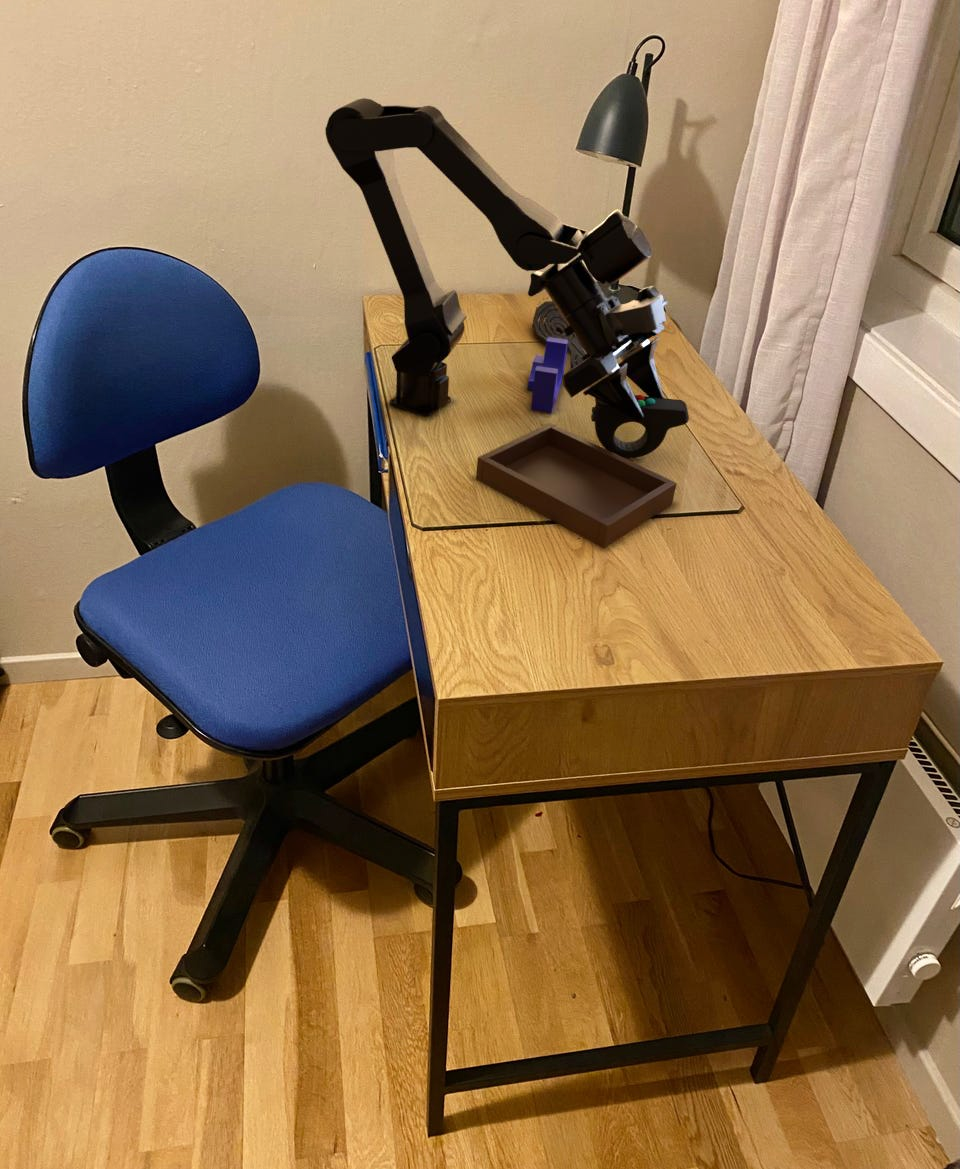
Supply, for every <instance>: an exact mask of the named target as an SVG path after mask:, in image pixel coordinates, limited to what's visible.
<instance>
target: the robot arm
mask: <svg viewBox="0 0 960 1169" xmlns="http://www.w3.org/2000/svg"><path fill="white" fill-rule="evenodd" d="M327 119H328V120H327V123H326V126H325V128H324V129H325V131H324V132H325V138H326V142H327V144H328V146H329V148H330V149H331V151H332V153H333V155H334V157H335V158H336V160H337V162H338V164H339V165H340V167H341V169H342V170H343V171H344V172H345V173H346V175H347V176H348V177H349V178H350V179H351V180H352V181H353V182H354V183H355V184H356V185H357V186H358V188H359V189H360V191H361V192H362V195H363V198H364V200H365V203H366V206H367V208H368V210H369V213H370V216H371V218H372V221H373V223H374V225H375V229H376V231H377V233H378V236H379V238H380V241H381V243H382V246H383V249H384V251H385V254H386V256H387V259H388V262H389V264H390V266H391V269H392V271H393V275H394V276H395V279H396V281H397V284H398V287H399V289H400V291H401V294H402V297H403V310H404V316H403V317H404V327H405V332H406V337H407V338H406V339H405V341H404V342H403V343H402V344H401V346H399V348H398V349H396V351H395V352H394V354H392V356H391V361H392V364H393V367H394V370H395V372H396V379H395V380H396V382H395V383H396V385H395V386H396V389H395V390H396V392H395V397H393V398H391V399H390V400H389V405H390V406H393V407H396V408H398V409H401V410H404V411H406V412H407V411H408V412H409V413H412V414H416V415H418V416H421V417H425V418H429V417H430V416H432V415H433V414H435V413H436V412H438V411H439V410H441V409H442V408H444V407H445V406H447V405H448V404H449V403H451V402H452V397H451V396H449V388H450V387H449V385H450V377H449V375H447V373H448V371H447V370H448V364H447V363H445V362H444V361H445V359H446V358H448V356H449V355H450V354H451V353H452V351H453V350H454V349H455V347H456V346H457V345H458V343H459V342H460V341H461V340H462V337H463V335H464V332H465V320H466V319H467V315H466V314H465V313H464V311H463V310H462V308H461V305H460V301H459V296H458V293H457V290H455V289H453V290H450V291H449V292H446V291H445V290H444V289H443V288H442V287H441V286H440V285H439V283H438V282H437V281H436V278H435V276H434V273H433V271H432V268H431V266H430V262H429V260H428V257H427V255H426V252H425V249H424V247H423V244H422V241H421V238H420V236H419V233H418V230H417V227H416V225H415V223H414V220H413V217H412V214H411V211H410V209H409V206H408V204H407V200H406V199H405V196H404V193H403V190H402V188H401V184H400V182H399V180H398V177H397V174H396V158H395V156H396V154H395V153H396V152H395V150H400V149H407V148H408V149H410V148H411V149H412V148H413V149H415V148H416V149H418V150H419V151H420V152H421V153H422V154H423V155H424V156H425V158H427V159H428V160H429V161H430V162H431V163H432V164H433V165H434V166H435V167H436V168H437V170H439V171H440V172H441V173H442V174H443V175H444V176H445V177H446V178H447V179H448V180H449V181H450V182H451V184H453V186H455V187H456V188H457V189H458V191H460V192H461V193H462V194H463V195H464V196H465V197H466V198H467V200H469V201H470V202H471V203H472V205H473V206H475V207H476V208H477V210H479V211H480V212H481V214H483V215H484V216H485V217H486V219H487V220H488V222H489V224H491V226H492V228H493V230H494V232H495V235H496V236H497V239H498V241H499V243H500V245H501V246H502V247H503V249H504V250H505V252H506V253H507V254H508V256H509V257H510V258H511V259H512V261H513V263H514V264H515V265H516V266H517V267H518V268H520V269H522V270H524V271H526V272H532V273H531V274H530V282H529V286H528V290H527V295H528V296H529V297H534V296H536V295H538V294H540V293H541V292H543V291H544V290H545V292H546V293H547V295H548V296H549V298H550V299H551V301H553V303H554V304H555V306H556V307H557V309H558V310H559V312H560V313H561V315H562V316H563V318H565V319H564V320H565V321H566V323H567V324H568V327H567V328H565V329H564V330H563V331H564V332H565V334H566V335H567V337H568V336H570V335H571V334H572V333H574V335H575V336H576V338H577V340H578V341H579V343H580V344H581V347H582V349H583V350H584V352H585V353H586V355H584V356H583V357H582V360H583V362H581V363H580V364H578V365H577V366H575V367H574V368H573V369H571V368H570V369H569V371H567V372H566V373H564V375H563V380H562V386H563V388H564V389H565V391H566V392H567V394H568V395H569V397H570V398H573V397H575V396H576V395H578V394H580V393H581V392H582V394H583V395H584V396H587V395H589V396H590V397H593V398H594V399H595V398H596V399H598V400H600V401H602V402H604V403H606V404H608V405H610V406H611V407H613V408H615V409H616V410H618V411H620V412H621V413H623V414H625V415H626V416H628V417H630V418H631V419H633V420H635V421H636V422H639V421H640V420H642V419H643V418H644V415H643V413H642V410H641V408H640V406H639V404H638V402H637V400H636V398H635V396H634V395H635V394H634V392H633V391H632V389H631V387H630V384H629V383H628V380H627V378H628V379H629V380H630V381H631V382H632V383H634V384H635V385H636V386H637V387H638V388H639V390H641V391H642V392H643V393H644V394H645V395H646V397H656V398H665V396H664V393H663V390H662V386H661V382H660V377H659V375H658V374H659V373H658V371H657V366H656V362H655V357H654V356H655V352H656V348H657V345H658V343H659V342H660V338H659V337H656V338H655V339H653V340H651V341H650V340H649V339H650V338H652V337H655V336H657V335H659V334H660V333H661V332H662V331H664V330H665V329H666V327H665V326H664V325H663V324H665V323H667V317H666V313H665V308H666V307H667V306H668V300H667V299H665V298H664V297H663V293H660V291H659V290H658V289H657V288H656V286H655V285H650V286H645V287H643V288H642V289H641V290H639V291H638V292H637V297H636V299H633V300H630V302H627V303H621V302H620V300H619V298H618V297H617V296H614V295H611V296H609V297H607V296H606V294H605V293H604V292H603V290H602V289H601V287H600V285H599V284H598V282H599V283H601V284H602V285H604V284H605V283H607V284H610V285H613V284H615V283H616V282H618V281H620V280H621V279H622V278H624V277H625V276H627V275H628V274H629V273H630V272H632V271H633V270H635V269H636V268H638V267H639V266H640V265H642V264H643V263H644V262H646V261H647V260H648V259H650V258H651V257H652V256H653V252H652V248H651V245H650V243H649V241H648V239H647V237H646V235H645V234H644V232H643V230H642V229H641V228H640V226H639V225H636V224H635V223H634V222H633V221H632V220H631V219H630V218H629V217H628V216H625V215H624V214H623V213H622V211H621V210H620V208H616V209H615V210H614V211H612V212H611V213H610V214H608V216H607V217H606V218H605V220H603V221H602V222H601V223H600V224H598V225H597V226H596V227H594V228H593V229H592V230H590V231H589V230H586V229H583V228H580V227H577V226H573V225H570V224H567V223H564V222H562V221H561V219H560V218H559V217H558V216H557V215H556V214H554V213H553V212H552V211H551V210H549V209H548V208H547V207H545V206H544V205H542V204H541V203H539V202H538V201H537V200H535V199H533V198H530V197H528V196H526V195H524V194H522V193H520V192H519V191H517V190H516V189H515V188H514V187H512V186H511V185H510V183H508V182H507V181H506V180H505V179H504V178H503V177H502V176H501V175H500V174H499V173H498V172H497V170H495V169H494V167H492V165H491V164H489V162H487V160H485V159H484V157H483V156H482V155H481V154H480V152H478V151H477V150H476V149H475V148H474V147H473V146H472V145H471V144H470V143H469V142H468V141H467V140H466V139H465V138H464V137H463V136H462V135H461V134H460V133H459V132H458V131H457V130H456V128H454V127H453V126H452V124H450V123H449V122H448V120H446V118H445V116H444V115H443V113H442V112H441V110H440V109H438V108H437V107H435V106H432V105H425V106H424V105H423V106H408V105H407V106H406V105H382V104H381V103H378V102H376V101H375V100H374V99H372V98H371V99H370V98H366V97H364V98H357V99H356V100H354V101H351V102H349V103H347V104H345V105H343V106H341V107H339V108H337V109H335V110H334V111H333V112H332V113H331V114H330V116H329V117H328V118H327ZM549 265H551V266H550V267H549V268H547V267H548V266H549ZM545 268H547V269H546V270H544V269H545ZM541 270H544V271H543V272H542V271H541ZM566 317H567V318H566ZM619 359H621V361H619V363H618V361H617V360H619ZM636 422H635V423H636Z"/></svg>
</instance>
